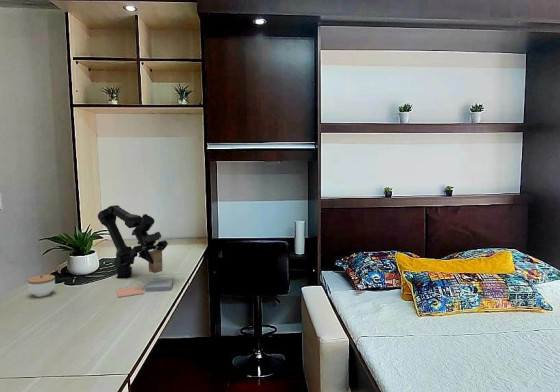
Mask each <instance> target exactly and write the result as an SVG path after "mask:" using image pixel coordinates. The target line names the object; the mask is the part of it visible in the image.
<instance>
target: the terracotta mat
mask: <svg viewBox="0 0 560 392" xmlns="http://www.w3.org/2000/svg"><path fill="white" fill-rule="evenodd" d="M144 293H145V292H144V290H143V289H142V286H141V285H138V286H131V287H124V288H116V295H117V298H124V297H125V298H126V297H132V296H138V295H144Z"/></svg>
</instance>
